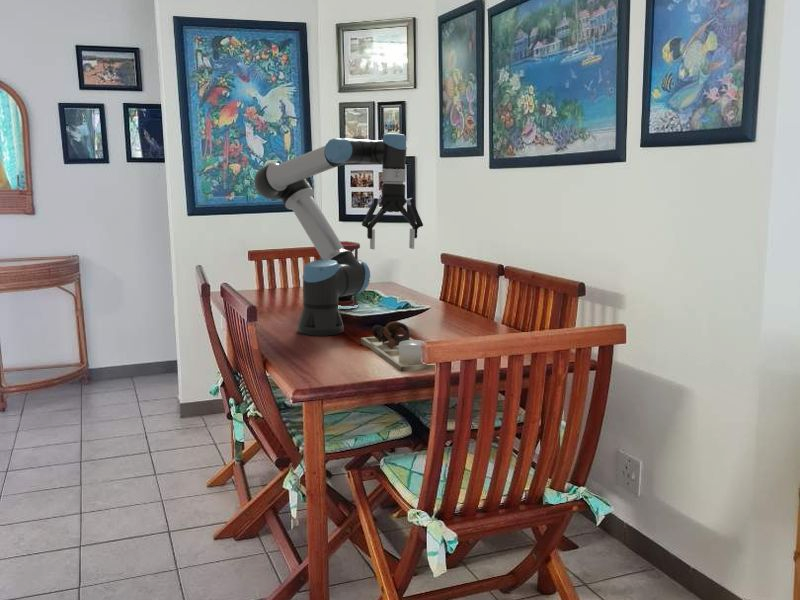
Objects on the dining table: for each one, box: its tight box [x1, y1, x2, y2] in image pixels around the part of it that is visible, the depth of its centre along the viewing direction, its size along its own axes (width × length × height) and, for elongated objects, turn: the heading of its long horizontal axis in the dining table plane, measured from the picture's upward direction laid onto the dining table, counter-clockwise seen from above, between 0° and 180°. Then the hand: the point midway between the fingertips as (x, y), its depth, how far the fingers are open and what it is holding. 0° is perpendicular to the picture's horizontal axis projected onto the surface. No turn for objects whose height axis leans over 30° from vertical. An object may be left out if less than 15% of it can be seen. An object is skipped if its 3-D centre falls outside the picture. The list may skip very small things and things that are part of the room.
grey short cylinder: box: [399, 339, 425, 365], centre depth 207 cm, size 9×9×5 cm
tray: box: [360, 334, 435, 372], centre depth 216 cm, size 15×35×2 cm, turn 21°
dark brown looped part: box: [371, 321, 411, 349], centre depth 224 cm, size 12×10×8 cm
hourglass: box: [320, 240, 361, 306], centre depth 286 cm, size 16×16×25 cm
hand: (392, 248), depth 239 cm, fingers open, 13 cm apart
